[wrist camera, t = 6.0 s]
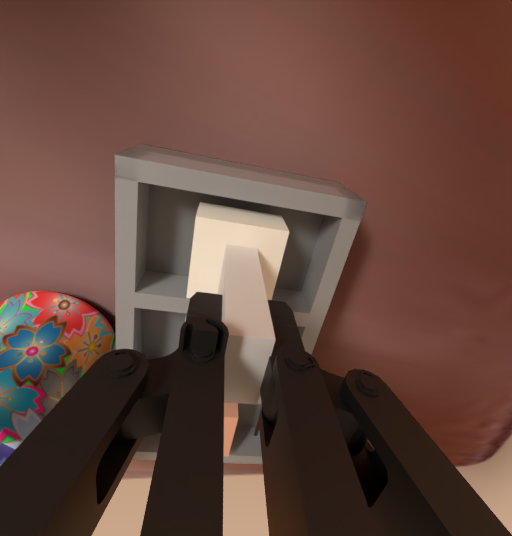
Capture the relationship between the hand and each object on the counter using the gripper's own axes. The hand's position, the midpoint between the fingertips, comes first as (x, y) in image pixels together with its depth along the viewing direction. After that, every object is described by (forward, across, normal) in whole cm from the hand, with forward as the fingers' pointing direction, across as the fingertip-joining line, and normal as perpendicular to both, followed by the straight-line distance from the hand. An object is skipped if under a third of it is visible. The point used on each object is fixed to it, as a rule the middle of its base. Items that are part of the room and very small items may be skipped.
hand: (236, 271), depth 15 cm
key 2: (+3, 0, 0) cm, 3 cm away
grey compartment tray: (+6, 0, -7) cm, 9 cm away
